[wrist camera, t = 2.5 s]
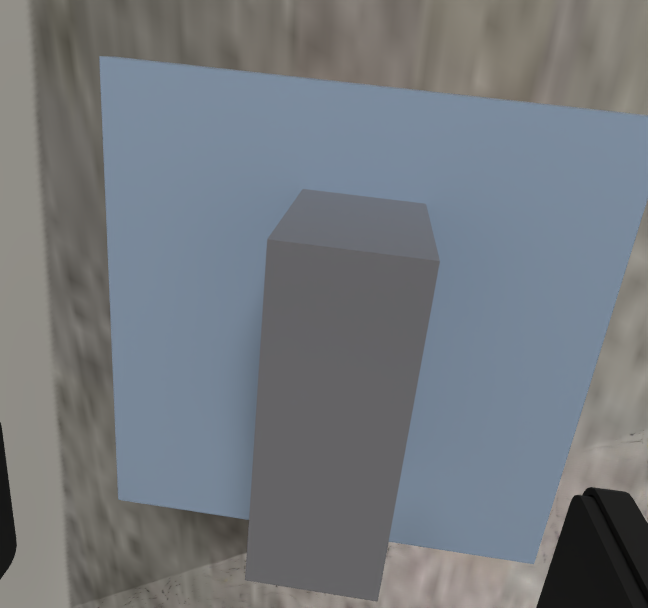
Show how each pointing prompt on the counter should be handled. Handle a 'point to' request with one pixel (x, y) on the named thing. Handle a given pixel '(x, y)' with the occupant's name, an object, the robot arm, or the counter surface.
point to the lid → (356, 307)
